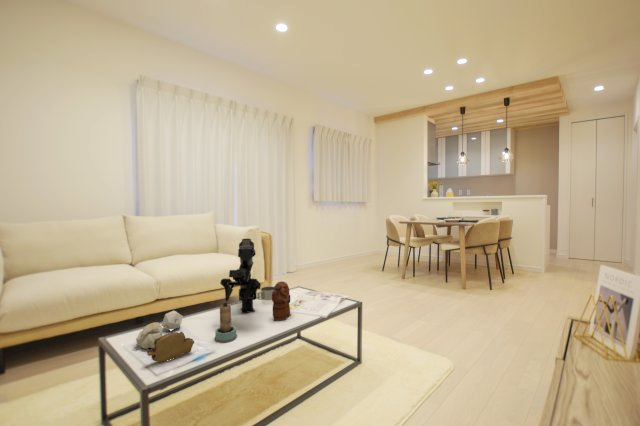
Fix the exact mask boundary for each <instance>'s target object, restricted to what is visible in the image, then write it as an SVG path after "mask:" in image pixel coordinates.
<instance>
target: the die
mask: <svg viewBox="0 0 640 426" xmlns="http://www.w3.org/2000/svg"><path fill="white" fill-rule="evenodd" d="M183 318H184V316H183V315H182V314H180V313H179V312H178V311H176V310H172V311H169V312H167V313H165V314H164V318H163V320H162V322H161V324H160V325H161V327H162V328H165V329H166V330H168V329H175V330H177V329H179V328H180V327H181V324H182V323H183ZM178 327H179V328H178ZM176 328H177V329H176Z"/></svg>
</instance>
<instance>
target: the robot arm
mask: <svg viewBox="0 0 640 426" xmlns="http://www.w3.org/2000/svg"><path fill="white" fill-rule="evenodd" d="M238 244H239V245H238V250H237V251H238V253H237V257H238V258H239V262H240V265H239V267H238V268H236V269H230V270H229V272H228V273H229V274H228V278H222V279H221V280H220V283H219V284H220V285H221V286H222V287H223V288H224V293H225V294H224V295H225V297H224V298H225V301H226V302H228V301H229V299H230V297H231V295H232V293H233V290H234V287H235V286H238V287H239V286H240V288H239V289H238V301H239V302H240V301H241V308H240V311H241V313H243V314H245V313H246V314H247V313H252V312H255V309H254V301H256V299H257V298H258V297H257V296H258V295H257V293H258V292H257V291H258V290H260V289H261V286H262V284H261V282H260V281H259V280H258V279H257V278H251V277H252V273H251V272H252V269H253V265H254V261H253V257H255V256H256V249H255V243H254V242H253V241H252V239H251V238H241V241H240V242H239V243H238ZM230 278H232V279H230ZM232 280H233V281H232Z"/></svg>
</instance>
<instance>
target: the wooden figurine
mask: <svg viewBox="0 0 640 426" xmlns="http://www.w3.org/2000/svg"><path fill="white" fill-rule="evenodd" d="M271 302H272V303H273V304H272V318H273V321H276V322H280V321H286V320H287V319H288V318H289V317H290V315H291V307H290V303H291V294H290V288H289V285H288V283H287V282H286V281H278V282H276V284H275V285H274V288H273V290H272V292H271Z"/></svg>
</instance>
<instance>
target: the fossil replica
mask: <svg viewBox="0 0 640 426" xmlns="http://www.w3.org/2000/svg"><path fill="white" fill-rule="evenodd" d="M161 325H162V324H160V323H159V322H158V321H156V322H155V321H154V322H152V323H151V322H150V323H149V324H146V325H145V326H144V327H143V328H142V330H141V331H139V333H138V335H137V337H136V344H137V345H139V346H140V347H141V348H143V349H145V350H149V348H150V349H153V348H154V347H155V345H154V342H155V340H156V339H158V338H160V337H161V336H163V326H161Z"/></svg>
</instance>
